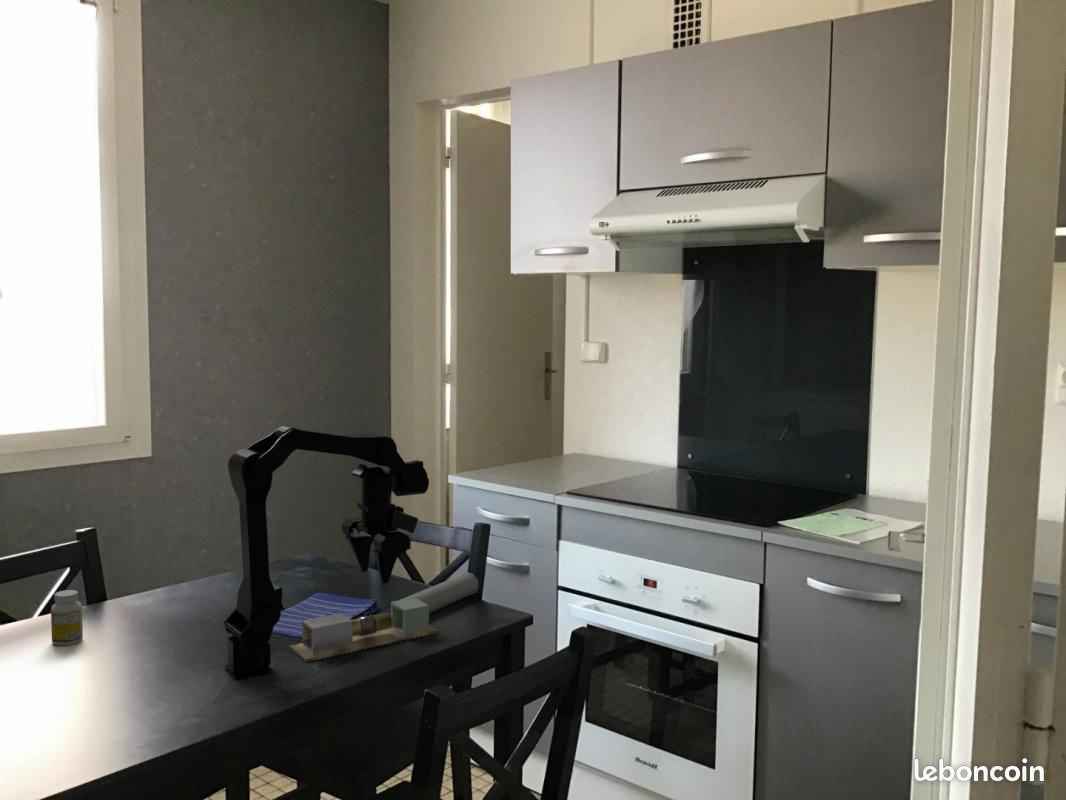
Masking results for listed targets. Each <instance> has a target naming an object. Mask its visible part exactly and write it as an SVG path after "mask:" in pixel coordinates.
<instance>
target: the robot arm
mask: <svg viewBox="0 0 1066 800" xmlns="http://www.w3.org/2000/svg"><path fill="white" fill-rule="evenodd" d="M296 450H299V451H300V450H301V451H308V452H318V453H323V454H333V455H339V456H340V455H341V456H349V457H351V458H355V459H357V460H360V461H363V462H366V463H370V464H373V465H378V466H371V467H368V466H367V465H366V464H362V463H359V465H358V466H357V467H356V468H355V469H354V470H353V471H352V472H351V476H353V477H355V478H359V479H361V500H360V502H357V505H356V506H357V509H359V510H360V517H354V518H353V517H351V518H346V519H345V520H344V521H343V522H342V525H341V528H342V529H341V533H342V534H344V538H345V539H346V541H347V542H348V544H349V546H350V548H351V549H350V550H352V553H353V555H354V557H355V560H356V561H357V564H358V567H359V568H360V571H361V572H362V573H365V572H366V573H367V572H368V569H369V565H370V557H371V550H372V549H371V546H372V544H373V547H374V549H373V550H372V552H373V556H374V559H375V563H376V566H377V569H378V573H379V577H380V580H381V583H382V584H388V583H389V581H390V578H391V575H392V572H393V570H394V567H395V564H396V562H397V559H398V558H399V556H401V555H402V554H404V553H407V551H408V550H409V551H410V550H411V548H412V538H411V537H410V536H409V535H408V534H406V533H403V532H401V531H399V530H398V529H401V530H403V531H407V532H408V533H410V534H414V533H415V530H416V527H417V525H418V521H419V519H420V518H418V517H416V516H413V515H410V514H408V513H406V512H405V510H404V509H405V508H404V507H403V506H399V505H396V504H395V503H392V493H393V494H394V495H395V496H396V497H404V496H405V497H406V496H416V495H424V494H425V493H426V492H427V491H428V490H429V486H430V485H429V484H430V479H429V476H428V473H427V470H426V468H425V467H424V462H423V461H421V460H417V459H416V460H411V461H404V458H402V456H401V455H400V453H399V452H398V446H397V444H396V442H395V440H394V438H392V437H389V436H386V435H381V434H378V433H375V432H373V433H372V432H367V433H366V432H365V433H354V434H347V435H346V434H345V435H344V434H339V433H331V432H323V431H316V430H309V429H302V428H296V427H293V426H292V427H291V426H288V425H282V426H279V427H278V428H276V429H275V430H274V431H272V432H271V433H270V434H267V435H266V436H264V437H263V438H261V439H259V440H257V441H254V442H253V443H252V444H250V445H249V446H248V447H246V448H242V449H240V450H236V452H234V453H233V454H232V456H230V457H229V459H228V462H227V463H228V464H227V470H228V473H229V477H230V482H231V485H232V487H233V491H234V493H235V495H236V497H237V500H238V508H239V523H240V542H241V559H242V573H243V574H242V580H241V583H240V586H239V589H238V591H237V598H236V607H235V609H234V610H233V611H232V612H231V613H230V615H229V616H228V617H227V618H226V619H225V620H224V622H223V627H224V629H225V632H226V633H227V634H229V635H230V636H228V637H227V664H225V665H224V669H225V670H226V671H227V672H228V673H229V674H230V675H231V676H232V677H233V679H235V680H241V679H245V678H249V677H253V676H258V675H262V674H267V673H271V672H272V668H271V663H272V659H271V658H272V657H271V656H272V653H271V650H272V649H271V647H272V646H271V645H272V643H270V642H269V641H270V639H271V637H272V636H271V634H272V631H273V628H274V626H275V625H276V623H277V622H278V621H279V620H280V616H281V612H282V611H284V610H285V607H284V605H283V593H284V592H283V588H282V587H281V586H280V585H278V584H276V583H275V582H273V581H272V580H271V576H270V574H271V573H270V557H269V556H270V555H269V540H268V539H269V536H268V515H267V499H268V496H269V493H270V491H271V489H272V484H273V475H274V472H275V471H276V470H278V469H279V468H280V467H281V466H283V464H285V462H286V461H287V459H288V458H289V457H290V456H291V455H292V453H293V452H295V451H296ZM380 466H381V467H380ZM382 467H384V468H388V469H389V470H388V469H387V470H384V469H383V468H382Z"/></svg>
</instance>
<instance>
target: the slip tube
mask: <svg viewBox="0 0 1066 800" xmlns="http://www.w3.org/2000/svg"><path fill="white" fill-rule="evenodd" d="M352 621H353V637H354V636H364V635H369V634H374V633H375V632H378V631H383V630H387V629H391V628H392V618H391V613H389V612H386V613H380V614H370V615H369V616H364V617H359V618H356V619H354V620H352ZM309 637H310V641H311V643H312V630H311V629H310V631H309Z"/></svg>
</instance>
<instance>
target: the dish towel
mask: <svg viewBox="0 0 1066 800" xmlns="http://www.w3.org/2000/svg"><path fill="white" fill-rule="evenodd" d="M379 609H380V607H379V606H378V601H377V599H376V598H367V599H366V598H354V597H349V596H343V595H335V594H332V593H331V594H330V593H325V592H324V593H322V592H316V593H315V594H312V596H309V597H308V598H307V599H305V600H303V601H300V602H298V603H297V604H295V605H293V606H290V607H288V608H286V609H284V610H281V616H280V620H279V621H278V622H277V623H276V625H275V626H274V628H273V631H272V634H271V637H277V638H281V639H288V640H292V639H293V641H298V640H299V642H302V621H303V620H308V619H314V618H319V617H324V616H329V615H334V614H340V613H342V614H343V615H345V616H346V617H348V618H349V619H351V620H354V619H356V618H359V617H364V616H366V615H368V614H370V613H372V614H374V613H376V612H377V611H379ZM373 612H374V613H373ZM370 615H371V614H370Z"/></svg>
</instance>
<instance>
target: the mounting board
mask: <svg viewBox="0 0 1066 800" xmlns="http://www.w3.org/2000/svg"><path fill="white" fill-rule="evenodd" d="M437 632H439V630H438V629H436V628H435V627H432V626H431V625H429V630H428V631H423V632H419V633H414V634H409V635H405V636H404V635H403V634H401V633H400V632H398V631H396V630H395V629H393V628H391V629H387V630H383V631H378V632H375V633H374V634H369V635H364V636H354V637H353V646H350V647H346V648H341V649H337V650H332V651H327V652H323V653H318V654H314V655H313V654H312V653H310V652H309V651H308V650H307V649H305V648H304V647H303V646H302V642H301V643H296V644H292V645H289V650H290V651H291V652H293V653H294V654H295V655H296V656H297V657H298V658H299V659H301V660H302V661H303V662H305V663H309V662H313V661H317V660H318V659H319V660H323V659H327V657H328V658H332V657H336V656H335V655H337V656H341V655H345V654H344V653H346V654H349V653H348V652H350V653H354V652H353V651H355V652H358V651H357V650H359V651H362V650H361V649H364V650H366V649H365V648H369V649H371V648H370V647H373V646H378V645H382V646H384V645H383V644H387V645H389V644H388V643H391V644H393V643H392V642H396V641H400V642H402V641H401V640H405V641H407V640H406V639H409V640H412V639H411V638H414V639H417V638H416V637H418V638H421V637H420V636H423V637H425V635H427V636H430V635H429V634H432V635H434V634H433V633H436V634H438V633H437ZM396 643H397V642H396ZM378 647H379V646H378ZM373 648H374V647H373ZM340 654H341V655H340ZM331 656H332V657H331ZM322 658H323V659H322ZM319 660H318V661H319Z"/></svg>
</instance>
